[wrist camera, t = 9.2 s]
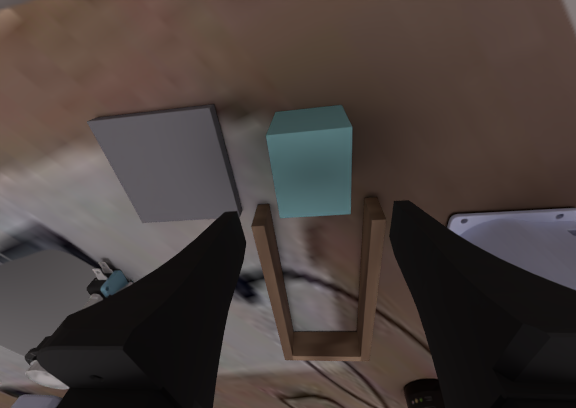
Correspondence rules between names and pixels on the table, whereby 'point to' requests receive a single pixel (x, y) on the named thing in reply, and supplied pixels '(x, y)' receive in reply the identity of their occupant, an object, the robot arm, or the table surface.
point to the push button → (98, 290)
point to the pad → (170, 162)
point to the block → (311, 161)
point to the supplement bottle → (424, 394)
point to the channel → (359, 342)
